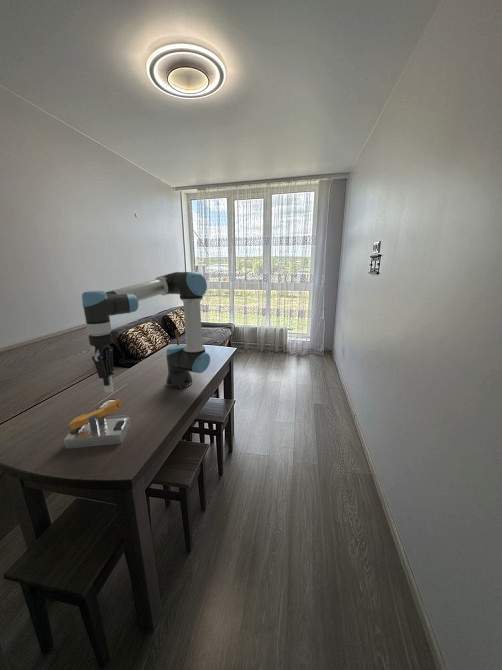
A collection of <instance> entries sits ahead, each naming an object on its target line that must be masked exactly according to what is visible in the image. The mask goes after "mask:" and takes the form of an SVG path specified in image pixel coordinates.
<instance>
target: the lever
mask: <svg viewBox="0 0 502 670" xmlns="http://www.w3.org/2000/svg"><path fill="white" fill-rule="evenodd" d="M122 404H123V402H121V400H120V399H119V398H116V399H115V400H113V401H109V402H108V403H107V404H106V405H105V406H103V408H100V407H99V408H100V409H98V410H96V409H95V410H94V411H92V412H90V413H83V414H81V415H79V416H76V417H74V418H73V420H72V421H70V423H69V424H68V426H69V428H70V429H71V431H72V430H74V429H76V428H78V427H81V426H83V425H84V424H86V423H89V417H90V416H96V417H97V419H98V418H100V417H102V416H104V415H105V416H106V415H109V414H112V413H114V412H117V411H118V410H119V409H120V407H121V406H122Z"/></svg>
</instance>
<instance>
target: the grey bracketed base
mask: <svg viewBox="0 0 502 670" xmlns="http://www.w3.org/2000/svg"><path fill="white" fill-rule="evenodd" d="M103 407H104V406H103ZM103 407H102V406H101V407H96V408H95V411H96V410H98V409H100V408H103ZM105 417H106V415H104V416H102V417H100V418H98V420H97V417H96V416H90V417H89V423H86V424H84V425H83V426H81V427H78V428H76V429H74V430H72V429H71V431H70V432H69V433H68V434H67V435H66V437H64V439H63V444H64V447H65V449H66V450H67V449H76V448H77V449H78V448H87V447H88V448H89V447H97V446H98V447H99V446H106V445H117V444H122V443H123V442H124V439H125V437H126V435H127V433H128V432H129V429H130V427H131V426H132V424H131V417H129V416H128V417H125V418H114V419H105Z"/></svg>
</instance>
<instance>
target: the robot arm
mask: <svg viewBox="0 0 502 670" xmlns="http://www.w3.org/2000/svg"><path fill="white" fill-rule="evenodd" d="M207 289H208V283H207V279H206V278H205V277H204V276H203V274H202V273H200V272H197V271H175V272H171V273H167V274H164V275H160V276H157V277H155V279H153V280H149V281H145V282H140V283H137V284H133V285H129V286H126V287H121V288H116V289H113V290H108V291H103V290H91V291H90V290H89V291H88V290H87V291H84V292H83V293H82V294H81V300H82V301H81V303H82V307H83V311H84V312H83V313H84V317H85V328H86V329H87V334H88V341H89V345H90V346H91V347H94V354H95V355H93V356H92V357H91V358H92V361H93V363H94V366H95V369H96V371H97V375H98V378H99V379H102V382H103V383H102V384H103V388H104V393H106V394H108V393H113V392H114V390H115V389H114V383H113V375H115V372H114V357H113V356H114V355H113V354H114V353H113V351H114V350H113V349H114V347H113V346H110V345H111V344H112V343H113V341H114V338H113V334H112V333H111V332H112V324H111V320H110V319H111V318H110V317H111V316H117V315H123V314H125V315H126V314H131V313H134V312H136V311H138V309H139V305H140V304H139V302H140V301H144V300H147V299H150V298H153V297H157V296H159V295H161V296H166V295H179V299H180V300H181V301H182V303H183V315H184V316H183V318H184V330H185V331H184V332H185V333H184V334H185V335H184V336H185V344H177V345H173V346H169V347H168V348H166V354H165V355H166V365H167V377H166V380H165V383H166V387H167V386H168V387H167V388H169V387H171V388H170V389H172V388H180V387H184V386H187V385H189V384H190V383H191V382H192V381H193V377H192V374H191V372H192V373H194V374H202V373H204V372H205V371H206V370H207V369H208V367H209V366H210V363H211V356H210V354H209V353H207V352H206V347H205V346H204V345H203V335H202V334H203V333H202V332H203V331H202V317H201V316H202V315H201V314H202V313H201V301H202V300H203V298H204V296H205V294H206V293H207ZM192 383H193V382H192ZM189 386H190V385H189ZM180 389H181V388H180Z"/></svg>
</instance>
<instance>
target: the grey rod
mask: <svg viewBox="0 0 502 670" xmlns="http://www.w3.org/2000/svg"><path fill="white" fill-rule="evenodd" d="M125 417H129V416H128V415H127V414H125V415H124V414H123V415H122V414H121V415H113V416H112V415H111V416H105V419H114V418H125ZM97 420H98V419H97Z"/></svg>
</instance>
